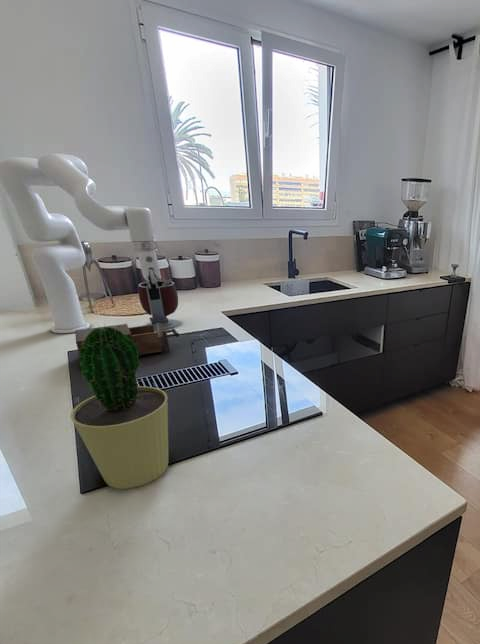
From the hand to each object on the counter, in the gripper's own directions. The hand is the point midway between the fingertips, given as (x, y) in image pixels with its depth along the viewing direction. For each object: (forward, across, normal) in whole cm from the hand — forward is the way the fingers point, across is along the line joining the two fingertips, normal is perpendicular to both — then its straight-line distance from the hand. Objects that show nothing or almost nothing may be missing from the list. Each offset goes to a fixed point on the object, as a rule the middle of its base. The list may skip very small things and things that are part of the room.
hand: (154, 298), depth 142 cm
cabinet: (+15, -13, +18) cm, 27 cm away
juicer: (+15, +59, +18) cm, 64 cm away
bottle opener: (+9, 0, 0) cm, 9 cm away
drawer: (+14, -13, +5) cm, 20 cm away
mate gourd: (+15, +16, -4) cm, 23 cm away
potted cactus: (+16, -81, +18) cm, 84 cm away
